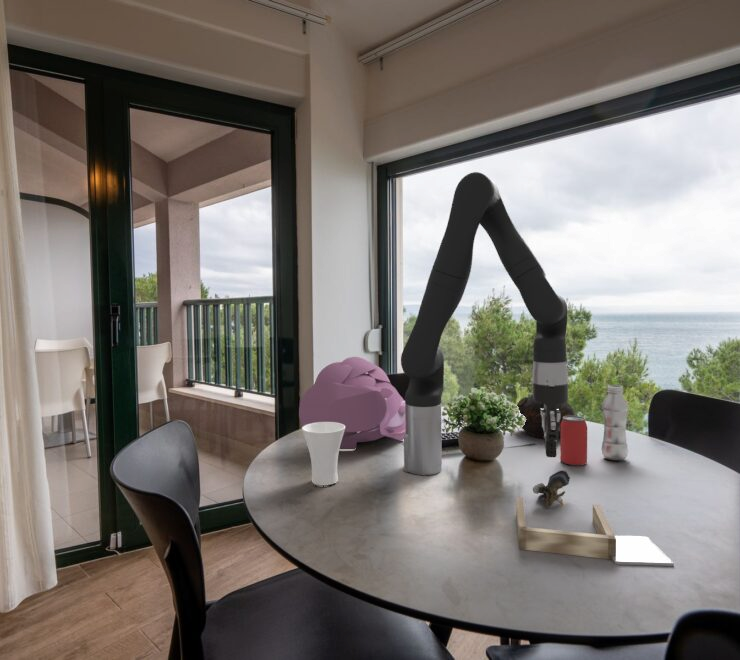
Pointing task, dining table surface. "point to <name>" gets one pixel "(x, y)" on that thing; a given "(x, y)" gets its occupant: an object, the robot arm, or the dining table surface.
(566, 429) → the beer can
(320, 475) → the cup
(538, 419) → the glass bottle
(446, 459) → the dining table surface
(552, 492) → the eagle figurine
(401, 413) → the purple rounded folded piece
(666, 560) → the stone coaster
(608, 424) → the plastic bottle
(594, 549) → the frame
